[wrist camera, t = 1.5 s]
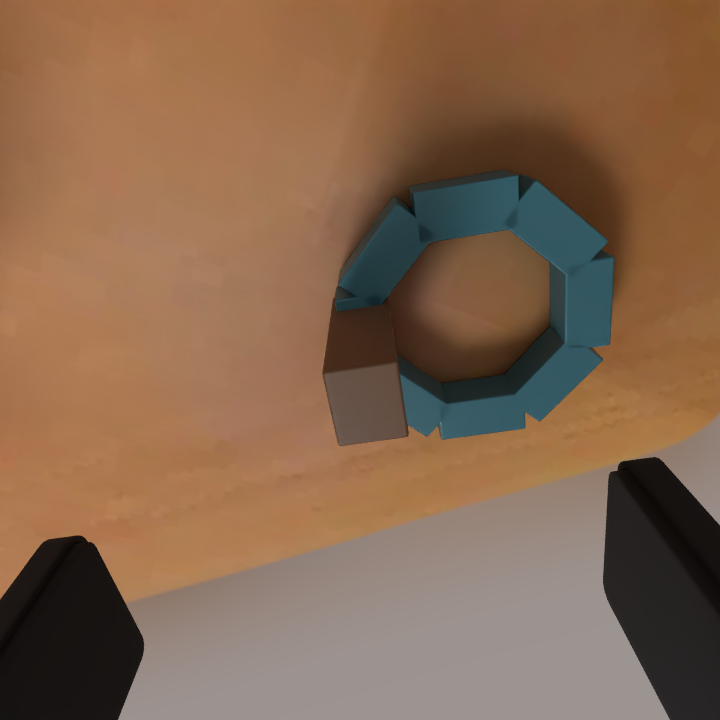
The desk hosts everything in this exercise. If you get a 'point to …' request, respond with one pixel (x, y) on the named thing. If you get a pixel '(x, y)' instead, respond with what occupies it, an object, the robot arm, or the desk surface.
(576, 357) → the teal segmented ring
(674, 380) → the desk surface
